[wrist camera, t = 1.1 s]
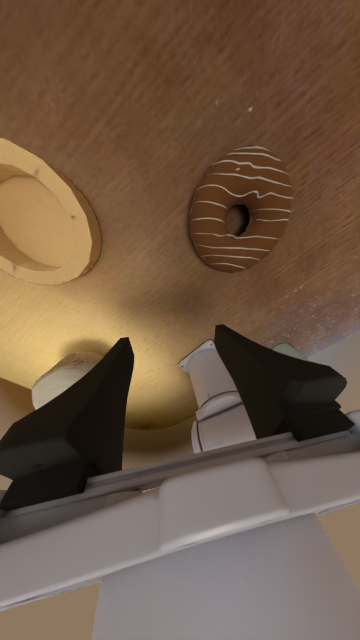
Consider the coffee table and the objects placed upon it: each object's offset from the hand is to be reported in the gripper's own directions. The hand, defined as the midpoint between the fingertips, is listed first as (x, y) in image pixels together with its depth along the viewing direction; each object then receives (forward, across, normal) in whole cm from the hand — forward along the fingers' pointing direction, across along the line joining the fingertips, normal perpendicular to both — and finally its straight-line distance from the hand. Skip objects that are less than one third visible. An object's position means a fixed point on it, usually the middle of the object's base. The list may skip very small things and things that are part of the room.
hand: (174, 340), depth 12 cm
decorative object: (+10, +13, +9) cm, 19 cm away
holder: (+10, +11, -9) cm, 17 cm away
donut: (+10, -8, -8) cm, 16 cm away
